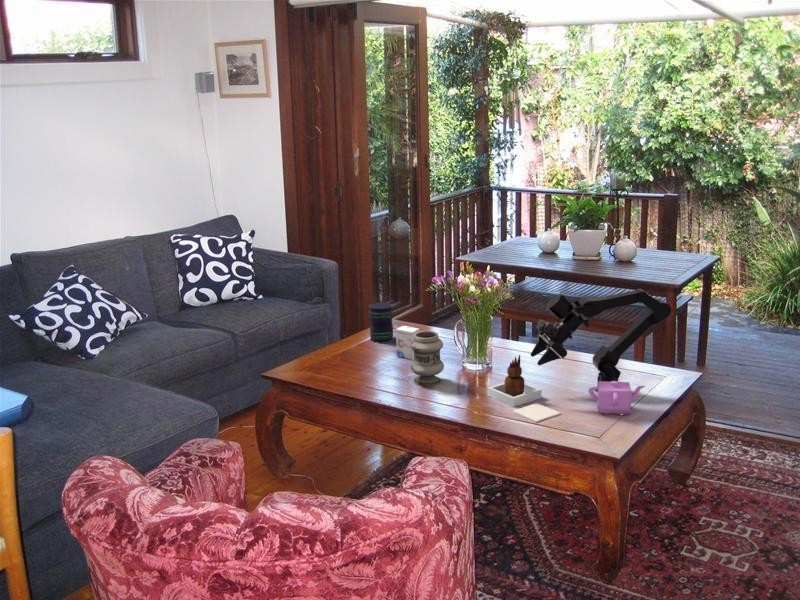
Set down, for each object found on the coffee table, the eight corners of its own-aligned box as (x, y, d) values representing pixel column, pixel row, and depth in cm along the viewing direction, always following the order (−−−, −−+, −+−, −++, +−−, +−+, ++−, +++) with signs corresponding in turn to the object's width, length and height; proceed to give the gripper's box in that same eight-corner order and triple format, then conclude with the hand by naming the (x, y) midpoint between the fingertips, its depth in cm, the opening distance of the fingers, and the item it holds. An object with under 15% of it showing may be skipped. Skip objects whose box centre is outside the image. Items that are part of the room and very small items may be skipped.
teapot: (642, 404, 285) (643, 375, 283) (646, 421, 272) (648, 391, 270) (586, 402, 288) (587, 374, 286) (588, 418, 275) (589, 389, 273)
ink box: (395, 356, 341) (395, 328, 338) (403, 353, 344) (402, 325, 341) (413, 360, 336) (413, 331, 333) (420, 356, 340) (420, 328, 337)
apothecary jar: (405, 384, 310) (404, 336, 305) (419, 373, 320) (418, 327, 316) (436, 388, 305) (435, 340, 300) (449, 377, 315) (448, 331, 311)
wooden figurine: (524, 393, 298) (524, 352, 294) (524, 400, 292) (525, 358, 288) (504, 393, 298) (504, 352, 295) (504, 399, 293) (504, 358, 289)
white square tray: (541, 397, 294) (541, 389, 293) (513, 406, 286) (513, 398, 286) (515, 387, 304) (515, 379, 303) (487, 395, 297) (487, 387, 296)
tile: (560, 414, 279) (560, 412, 279) (536, 422, 273) (536, 421, 273) (536, 404, 288) (536, 402, 288) (512, 412, 282) (512, 410, 282)
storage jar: (365, 340, 363) (363, 306, 359) (380, 334, 370) (379, 301, 366) (383, 344, 357) (381, 309, 353) (398, 338, 364) (397, 304, 360)
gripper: (543, 304, 298) (512, 337, 300) (558, 319, 280) (524, 353, 282) (565, 325, 300) (534, 357, 302) (581, 341, 282) (547, 375, 284)
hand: (534, 360), depth 293 cm, fingers open, 9 cm apart
